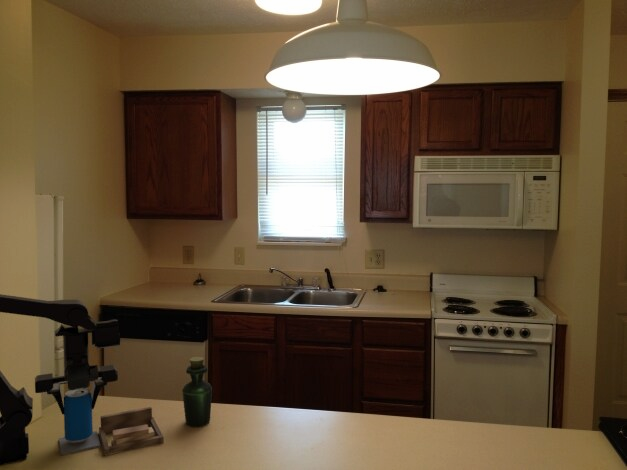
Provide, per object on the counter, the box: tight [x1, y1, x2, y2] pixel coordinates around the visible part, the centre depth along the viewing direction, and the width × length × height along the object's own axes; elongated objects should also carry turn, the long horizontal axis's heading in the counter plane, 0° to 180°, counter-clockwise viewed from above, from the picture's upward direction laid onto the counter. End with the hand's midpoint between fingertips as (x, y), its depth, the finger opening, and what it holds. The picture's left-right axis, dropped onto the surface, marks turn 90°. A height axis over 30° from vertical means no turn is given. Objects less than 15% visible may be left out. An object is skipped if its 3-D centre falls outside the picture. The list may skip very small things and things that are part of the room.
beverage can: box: [63, 387, 94, 443], centre depth 131 cm, size 6×6×12 cm
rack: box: [98, 406, 165, 456], centre depth 135 cm, size 14×14×4 cm
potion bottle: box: [181, 356, 213, 428], centre depth 144 cm, size 8×8×18 cm
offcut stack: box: [110, 425, 156, 446], centre depth 132 cm, size 10×4×4 cm, turn 118°
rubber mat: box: [58, 430, 102, 456], centre depth 132 cm, size 9×9×1 cm
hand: (78, 411), depth 131 cm, fingers closed on beverage can, 6 cm apart
